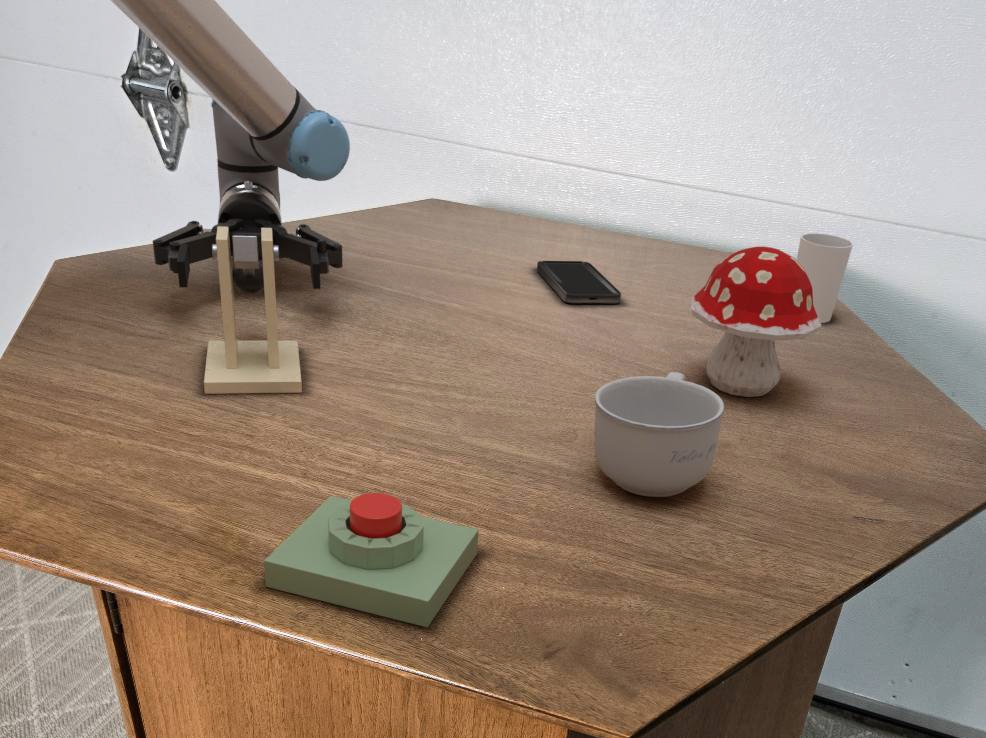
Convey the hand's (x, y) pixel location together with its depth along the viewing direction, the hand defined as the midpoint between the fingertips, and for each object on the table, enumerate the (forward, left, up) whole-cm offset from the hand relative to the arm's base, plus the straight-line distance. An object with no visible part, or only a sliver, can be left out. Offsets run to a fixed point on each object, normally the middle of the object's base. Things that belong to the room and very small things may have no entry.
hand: (250, 275), depth 103 cm
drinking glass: (+58, +43, -7) cm, 72 cm away
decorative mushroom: (+52, +13, -7) cm, 54 cm away
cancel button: (+31, -36, -3) cm, 47 cm away
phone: (+27, +38, -7) cm, 47 cm away
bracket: (+5, -8, -7) cm, 12 cm away
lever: (+3, -5, +1) cm, 6 cm away
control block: (+31, -36, -7) cm, 48 cm away
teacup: (+47, -12, -7) cm, 49 cm away
